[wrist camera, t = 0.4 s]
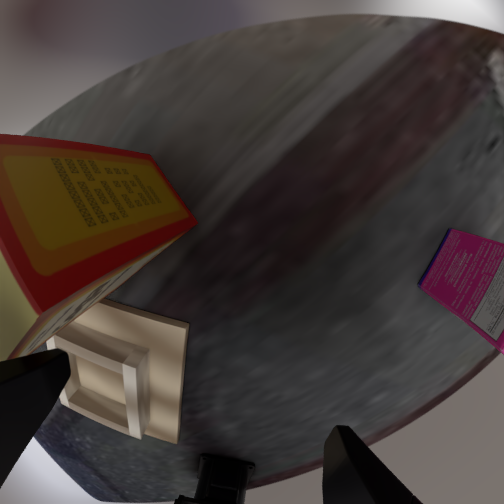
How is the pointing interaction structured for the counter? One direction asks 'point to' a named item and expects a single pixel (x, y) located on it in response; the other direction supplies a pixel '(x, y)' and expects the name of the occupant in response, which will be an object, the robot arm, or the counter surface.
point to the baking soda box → (74, 231)
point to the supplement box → (470, 282)
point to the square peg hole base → (125, 369)
